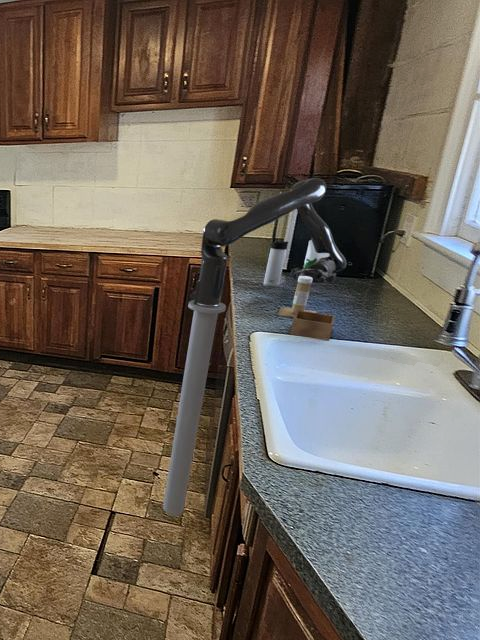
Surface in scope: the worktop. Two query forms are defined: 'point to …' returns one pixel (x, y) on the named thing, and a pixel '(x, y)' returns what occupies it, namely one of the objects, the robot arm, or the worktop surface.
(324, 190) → the robot arm
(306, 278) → the sprinkles bottle
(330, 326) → the cardboard box
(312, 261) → the milk carton
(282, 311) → the cork mat
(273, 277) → the travel mug
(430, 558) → the worktop surface
